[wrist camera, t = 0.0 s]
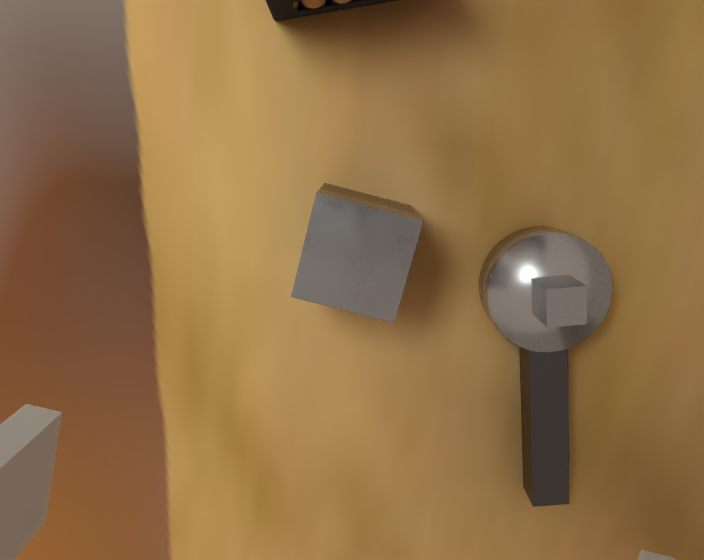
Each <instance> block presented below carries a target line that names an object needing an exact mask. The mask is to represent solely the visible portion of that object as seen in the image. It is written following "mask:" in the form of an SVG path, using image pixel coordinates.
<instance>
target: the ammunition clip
mask: <svg viewBox="0 0 704 560" xmlns="http://www.w3.org/2000/svg"><path fill="white" fill-rule="evenodd" d="M390 1H396V0H266V2H267V5H268V7H269V9H270V12H271V14H272V16H273V19H274V20H275V21H280V20H286V19H292V18H298V17H304V16H309V15H315V14H321V13H327V12H333V11H338V10H344V9H350V8H356V7H361V6H367V5H373V4H379V3H385V2H390Z"/></svg>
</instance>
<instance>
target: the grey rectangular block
mask: <svg viewBox="0 0 704 560" xmlns="http://www.w3.org/2000/svg"><path fill="white" fill-rule="evenodd" d="M422 225H423V219H422V218H421V217H420V216H419V215H418V214H417V212H416V211H415V210H414V209H413V208H412V207H411V206H410V205H407V204H403V203H399V202H395V201H391V200H388V199H384V198H380V197H376V196H372V195H369V194H365V193H361V192H357V191H353V190H350V189H346V188H342V187H338V186H334V185H331V184H327V183H324V184H323V186H322V187H321V188H320V189H319V190H318V191H317V193H316V197H315V201H314V205H313V209H312V213H311V217H310V221H309V225H308V230H307V234H306V238H305V242H304V246H303V250H302V254H301V258H300V262H299V267H298V271H297V275H296V279H295V283H294V287H293V291H292V295H291V297H293V298H297V299H301V300H305V301H309V302H313V303H317V304H321V305H325V306H329V307H333V308H337V309H341V310H345V311H349V312H353V313H357V314H361V315H365V316H369V317H373V318H377V319H381V320H385V321H389V322H393V323H394V322H395V318H396V315H397V311H398V308H399V304H400V301H401V297H402V294H403V290H404V287H405V284H406V280H407V277H408V273H409V270H410V266H411V263H412V259H413V256H414V253H415V249H416V246H417V242H418V239H419V235H420V232H421V228H422Z"/></svg>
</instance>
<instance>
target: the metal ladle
mask: <svg viewBox="0 0 704 560" xmlns="http://www.w3.org/2000/svg"><path fill="white" fill-rule="evenodd" d="M612 290H613V287H612V278H611V273H610V270H609V267H608V265H607V263H606V261H605V259H604V258H603V257H602V255H601V254H600V253H599V252H598V251H597V249H596V248H595V247H593V246H592V245H591V244H589V243H588V242H586V241H584V240H583V239H581V238H578V237H576V236H574V235H571V234H569V233H567V232H564V231H562V230H559V229H556V228H551V227H543V226H540V227H530V228H525V229H522V230H519V231H516V232H514V233H512V234H510V235H509V236H507V237H505V238H504V239H503V240H501V241H500V242H499V243H498V244H497V245H496V246H495V247H494V248H493V249H492V251H491V252H490V253H489V255H488V256H487V258H486V260H485V262H484V264H483V266H482V270H481V273H480V279H479V293H480V298H481V302H482V305H483V307H484V309H485V311H486V313H487V314H488V316H489V317H490V318H491V320H492V321H493V322H494V324H495V325H496V326H497V328H498V329H499V330H500V331H501V333H502V334H503V335H504V336H505V337H506V338H507V339H508V340H510V341H511V342H513V343H514V344H516V345H518V346H519V349H520V383H521V417H522V451H523V485H524V489H525V491H526V493H527V495H528V497H529V499H530V501H531V504H532V506H546V505H559V504H569V434H568V348H570V347H573V346H575V345H577V344H579V343H580V342H582V341H584V340H585V339H586V338H588V337H589V336H590V335H591V334H592V333H593V332H594V331H595V330H596V329H597V328H598V327H599V326H600V324H601V323H602V321H603V320H604V318H605V316H606V314H607V312H608V309H609V307H610V303H611V299H612Z"/></svg>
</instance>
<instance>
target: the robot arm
mask: <svg viewBox="0 0 704 560" xmlns="http://www.w3.org/2000/svg"><path fill="white" fill-rule="evenodd" d="M61 415H62V412H57V411H54V410H50V409H45V408H41V407H37V406H32V405H28V404H26V405H24V406H23V407H22V408H21V409H19V410H18V411H17V412H16V413H14V414H13V415H12V416H10V417H9V418H8V419H6V421H4V422H3V423H1V424H0V560H14V559H15V557H16V556H17V555H18V554H19V553H20V551H21V550H22V549H23V548H24V547H25V545H26V544H27V543H28V542H29V541H30V539H31V538H32V537H33V536H34V534H35V533H36V532H37V531H38V529H39V528H40V527H41V526H42V525H43V524H44V522H45V520H46V514H47V507H48V501H49V494H50V487H51V481H52V474H53V468H54V461H55V455H56V448H57V442H58V435H59V429H60V422H61ZM637 560H675V559H674V557H670V556H666V555H662V554H658V553H653V552H649V551H645V550H641V551H640V554H639V556H638V558H637Z"/></svg>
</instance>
